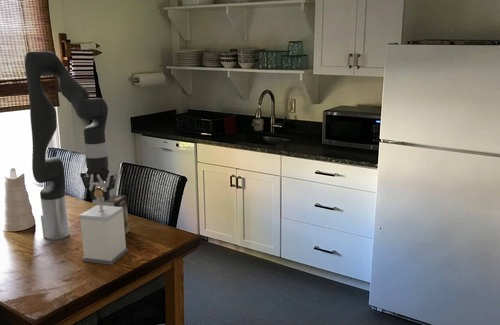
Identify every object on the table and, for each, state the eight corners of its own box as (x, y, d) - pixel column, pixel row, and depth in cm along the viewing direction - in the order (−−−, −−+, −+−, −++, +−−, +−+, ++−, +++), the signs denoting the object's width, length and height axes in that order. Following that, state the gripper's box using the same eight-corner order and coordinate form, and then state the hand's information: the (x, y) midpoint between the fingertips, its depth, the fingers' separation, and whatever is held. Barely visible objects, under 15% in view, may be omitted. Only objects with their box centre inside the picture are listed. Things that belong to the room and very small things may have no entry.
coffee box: (119, 239, 192) (116, 202, 188) (105, 238, 193) (101, 201, 189) (129, 231, 200) (126, 195, 196) (115, 230, 202) (112, 194, 198)
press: (82, 261, 173) (77, 215, 169) (104, 244, 187) (100, 201, 183) (111, 264, 170) (107, 218, 166) (131, 247, 184) (128, 204, 180)
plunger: (95, 240, 174) (90, 188, 169) (102, 235, 178) (97, 185, 173) (106, 241, 173) (101, 189, 168) (112, 237, 177) (108, 185, 172)
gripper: (72, 156, 166) (77, 202, 170) (108, 158, 162) (112, 205, 167) (85, 151, 173) (89, 195, 177) (119, 153, 169) (123, 198, 174)
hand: (100, 199), depth 172 cm, fingers closed on plunger, 4 cm apart
